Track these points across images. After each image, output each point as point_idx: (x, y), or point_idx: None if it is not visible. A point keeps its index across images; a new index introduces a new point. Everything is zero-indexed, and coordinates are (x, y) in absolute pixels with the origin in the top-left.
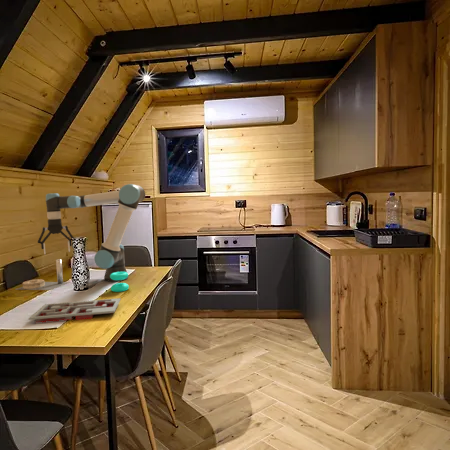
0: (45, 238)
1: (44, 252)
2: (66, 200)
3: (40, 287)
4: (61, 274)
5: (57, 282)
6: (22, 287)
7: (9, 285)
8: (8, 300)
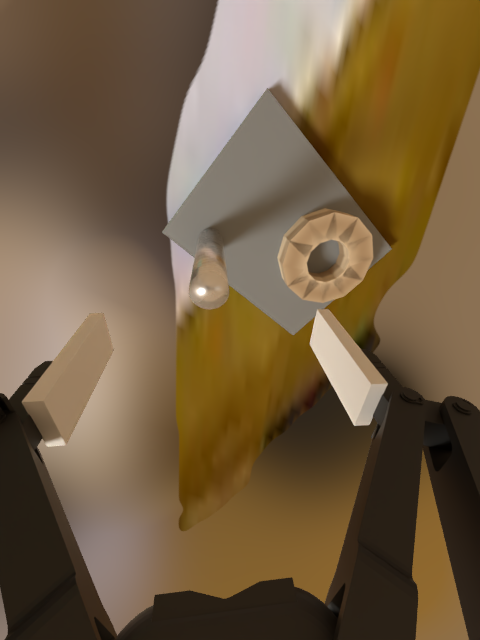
0: (403, 461)
1: (333, 319)
2: None
3: (302, 208)
4: (201, 243)
5: None
6: None
7: None
8: (466, 60)
